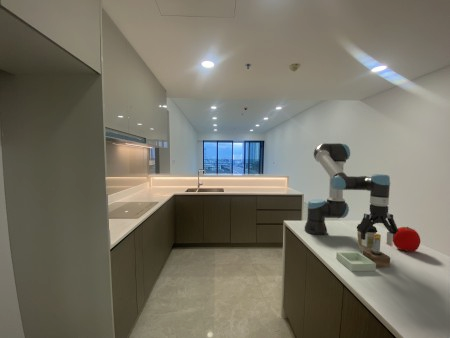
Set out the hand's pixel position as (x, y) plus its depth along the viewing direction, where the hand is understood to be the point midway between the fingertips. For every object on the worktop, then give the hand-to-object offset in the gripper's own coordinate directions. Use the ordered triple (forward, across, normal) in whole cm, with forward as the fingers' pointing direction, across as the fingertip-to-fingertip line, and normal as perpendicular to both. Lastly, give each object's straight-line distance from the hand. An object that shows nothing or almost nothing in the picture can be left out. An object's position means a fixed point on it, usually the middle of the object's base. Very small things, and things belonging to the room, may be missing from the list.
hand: (376, 245), depth 102 cm
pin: (+9, 0, 0) cm, 9 cm away
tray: (+9, -12, -1) cm, 15 cm away
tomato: (+10, +30, +14) cm, 35 cm away
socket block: (+9, 0, 0) cm, 9 cm away
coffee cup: (+10, +4, +13) cm, 16 cm away
